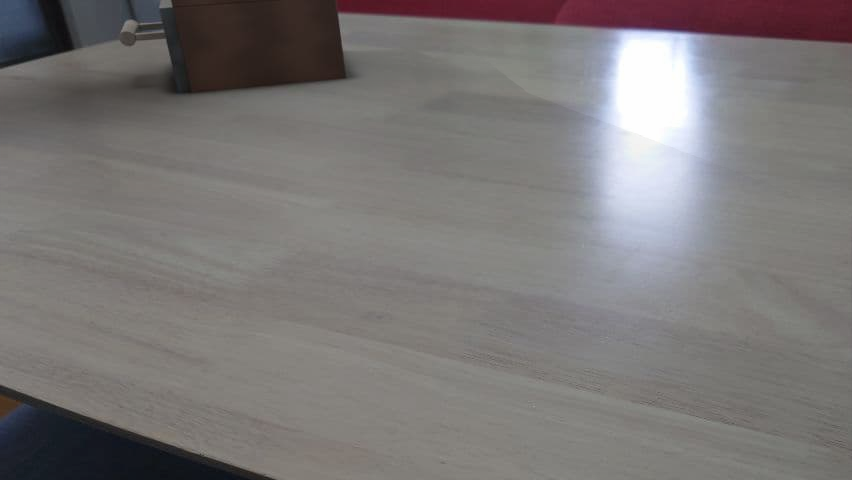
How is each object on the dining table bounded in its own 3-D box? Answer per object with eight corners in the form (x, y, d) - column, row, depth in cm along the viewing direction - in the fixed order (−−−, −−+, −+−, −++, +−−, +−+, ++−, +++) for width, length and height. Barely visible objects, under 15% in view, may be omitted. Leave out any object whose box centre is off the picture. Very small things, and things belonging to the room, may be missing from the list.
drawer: (130, 98, 77) (108, 11, 73) (138, 70, 86) (118, -8, 82) (322, 80, 82) (310, -2, 78) (310, 55, 91) (299, -19, 87)
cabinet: (193, 103, 78) (170, -3, 74) (194, 72, 89) (174, -22, 84) (347, 88, 83) (334, -13, 78) (331, 60, 93) (319, -30, 88)
